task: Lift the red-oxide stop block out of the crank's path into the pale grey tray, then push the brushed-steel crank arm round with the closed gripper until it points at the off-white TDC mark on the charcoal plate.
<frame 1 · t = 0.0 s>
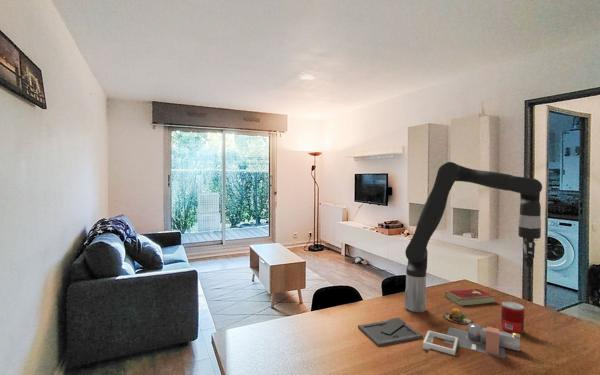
hand: (528, 264, 131), 29 cm above the table, fingers open, 8 cm apart
stop block: (492, 351, 116), point 1 cm above the table, touching crank plate
hardcover book: (469, 300, 168), on the table
burger: (457, 321, 143), on the table
crank plate: (474, 343, 123), on the table
tray: (440, 346, 121), on the table
canned food: (512, 330, 134), on the table
picture frame: (389, 334, 132), on the table
crank: (493, 335, 121), point 4 cm above the table, hinge at 0.0°
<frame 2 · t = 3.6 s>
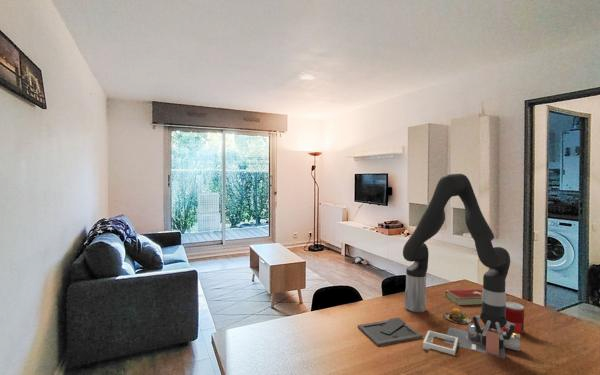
hand: (492, 346, 116), 3 cm above the table, fingers closed on stop block, 4 cm apart
stop block: (492, 351, 116), point 1 cm above the table, touching crank plate, gripper
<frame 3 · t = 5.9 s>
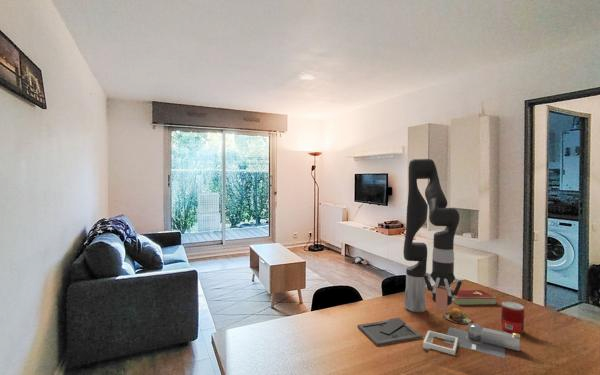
hand: (442, 303, 120), 17 cm above the table, fingers closed on stop block, 4 cm apart
stop block: (441, 307, 121), point 15 cm above the table, touching gripper
when the fingers open (4 cm above the table, at t = 8.2 s): stop block drops 2 cm, resting on tray.
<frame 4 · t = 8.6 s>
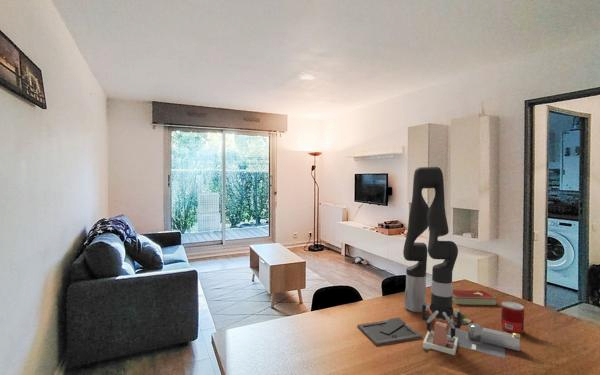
hand: (440, 334, 121), 5 cm above the table, fingers open, 7 cm apart
stop block: (440, 344, 121), point 1 cm above the table, touching tray
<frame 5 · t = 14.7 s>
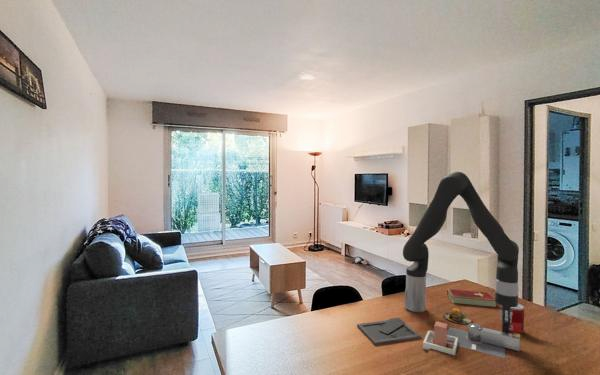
hand: (505, 335, 122), 4 cm above the table, fingers closed
crank: (493, 335, 121), point 4 cm above the table, hinge at -0.2°, touching gripper
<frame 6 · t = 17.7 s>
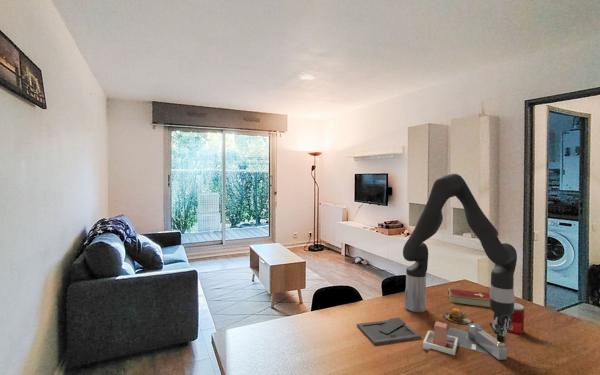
hand: (501, 344, 115), 4 cm above the table, fingers closed
crank: (485, 339, 118), point 4 cm above the table, hinge at -50.9°, touching gripper
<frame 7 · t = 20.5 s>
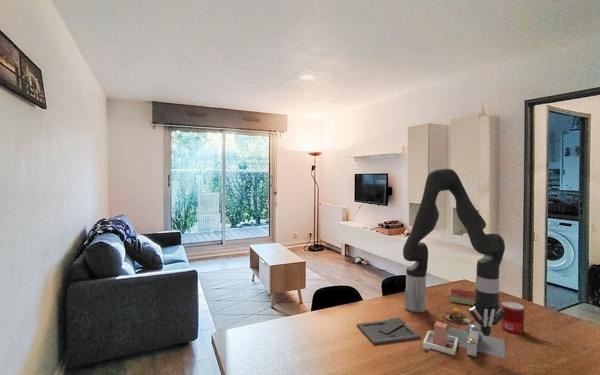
hand: (485, 335, 114), 8 cm above the table, fingers closed
crank: (473, 338, 119), point 4 cm above the table, hinge at -91.1°
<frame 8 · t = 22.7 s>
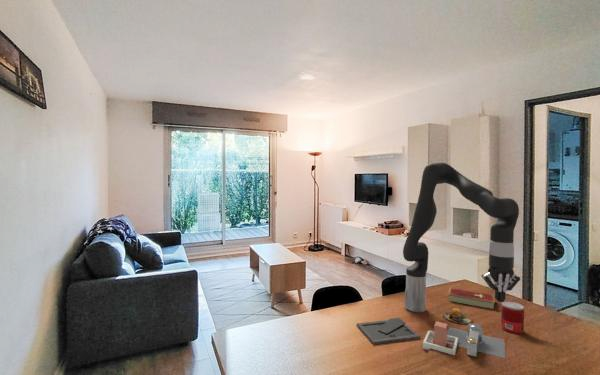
hand: (500, 301, 113), 21 cm above the table, fingers closed
at the end: crank at -91° (first picture: +0°); stop block inside the target area on the tray (0.1 cm from its centre), point 0.6 cm above the tray's base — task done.
